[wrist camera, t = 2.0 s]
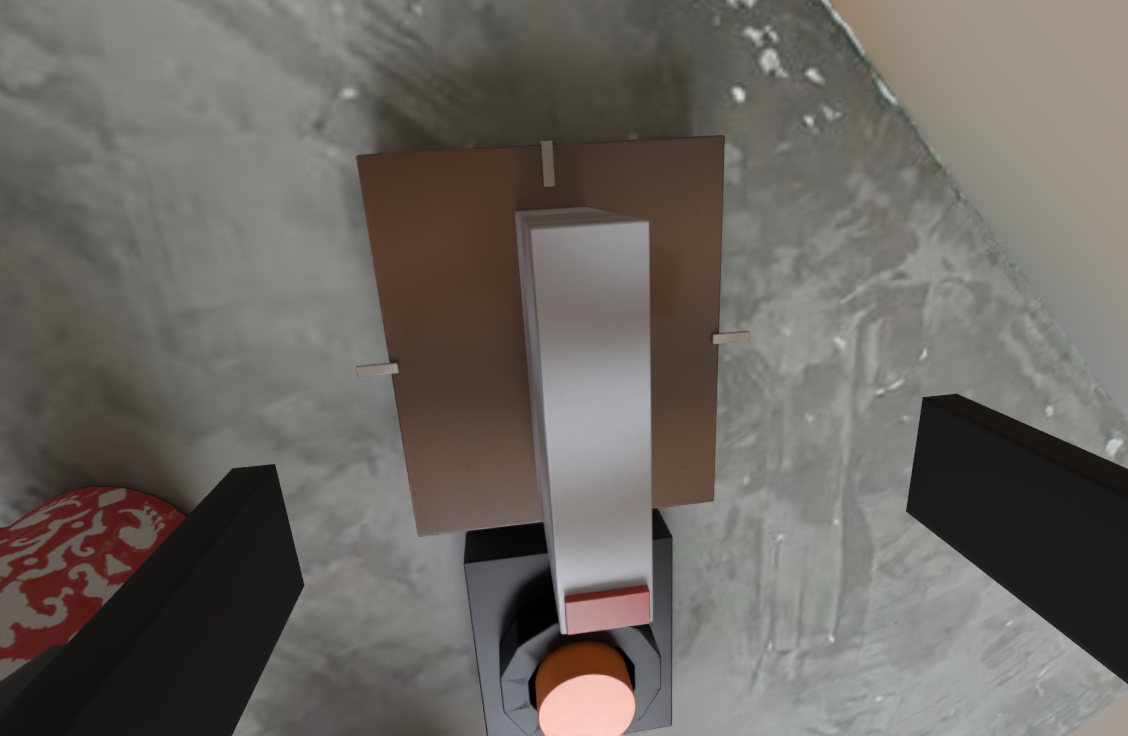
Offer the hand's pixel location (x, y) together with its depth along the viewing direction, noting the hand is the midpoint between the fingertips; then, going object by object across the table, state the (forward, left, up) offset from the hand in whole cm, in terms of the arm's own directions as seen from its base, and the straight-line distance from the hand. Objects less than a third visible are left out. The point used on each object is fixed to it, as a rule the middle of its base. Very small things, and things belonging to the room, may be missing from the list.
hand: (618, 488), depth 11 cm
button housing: (+14, 0, -12) cm, 19 cm away
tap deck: (0, 0, -12) cm, 12 cm away
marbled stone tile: (0, 0, -9) cm, 9 cm away
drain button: (+14, 0, -9) cm, 17 cm away
